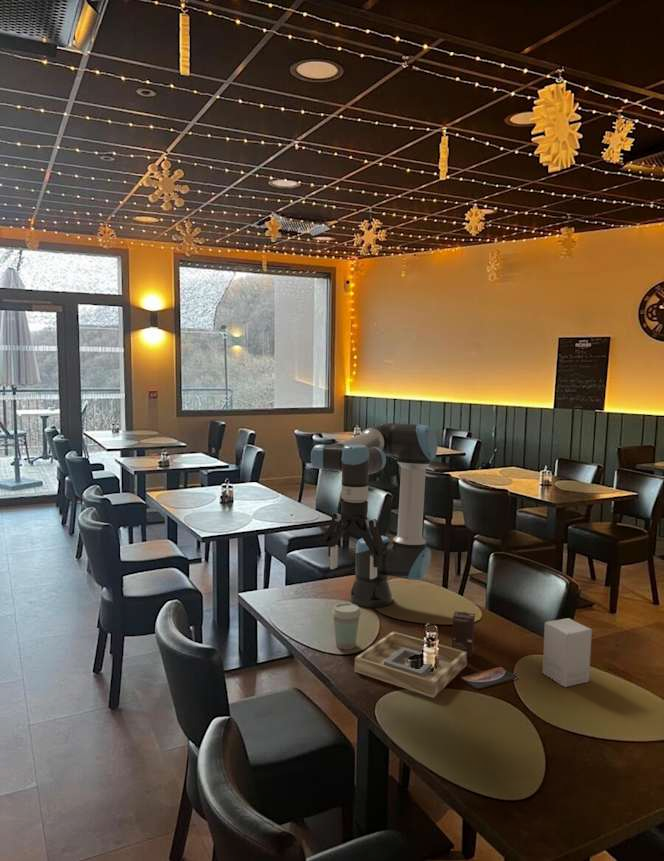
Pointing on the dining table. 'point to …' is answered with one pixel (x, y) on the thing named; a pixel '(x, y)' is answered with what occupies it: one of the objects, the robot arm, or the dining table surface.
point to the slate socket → (399, 656)
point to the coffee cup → (346, 624)
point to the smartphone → (488, 678)
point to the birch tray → (390, 644)
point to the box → (463, 632)
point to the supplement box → (567, 652)
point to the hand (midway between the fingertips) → (353, 572)
